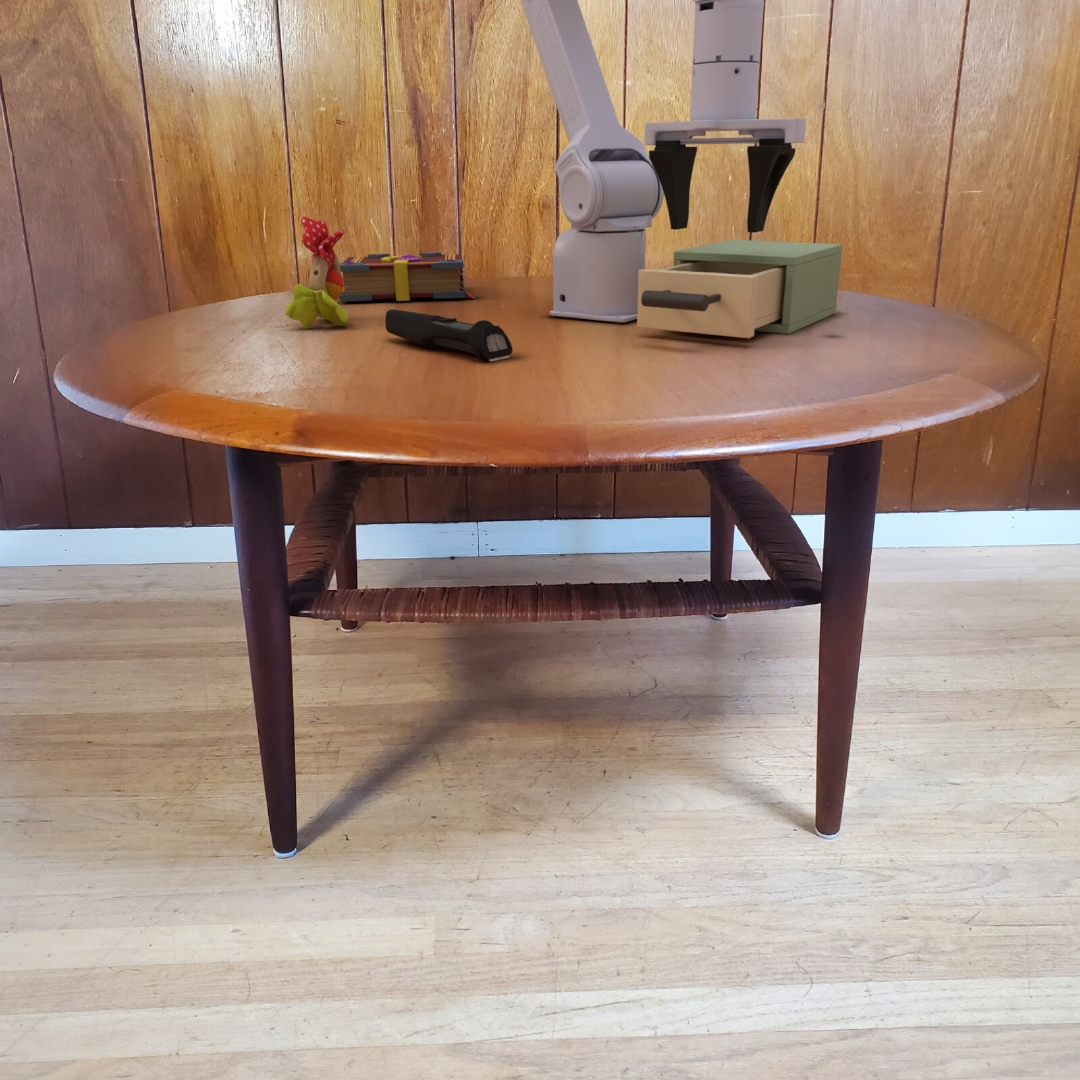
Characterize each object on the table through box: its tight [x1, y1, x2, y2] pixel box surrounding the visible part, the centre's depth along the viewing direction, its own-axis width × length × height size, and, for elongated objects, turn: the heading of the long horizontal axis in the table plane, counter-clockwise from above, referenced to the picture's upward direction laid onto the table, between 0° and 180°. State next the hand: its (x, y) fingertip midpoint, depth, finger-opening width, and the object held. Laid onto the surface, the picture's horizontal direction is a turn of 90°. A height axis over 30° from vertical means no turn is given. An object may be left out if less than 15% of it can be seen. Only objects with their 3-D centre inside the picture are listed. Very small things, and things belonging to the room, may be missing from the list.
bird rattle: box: [284, 216, 349, 329], centre depth 96 cm, size 6×11×9 cm
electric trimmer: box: [384, 308, 513, 362], centre depth 84 cm, size 4×16×3 cm, turn 45°
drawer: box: [636, 261, 787, 339], centre depth 87 cm, size 17×11×5 cm
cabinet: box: [672, 239, 844, 335], centre depth 95 cm, size 14×13×7 cm
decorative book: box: [339, 251, 475, 303], centre depth 115 cm, size 11×16×5 cm
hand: (716, 230), depth 85 cm, fingers open, 7 cm apart
